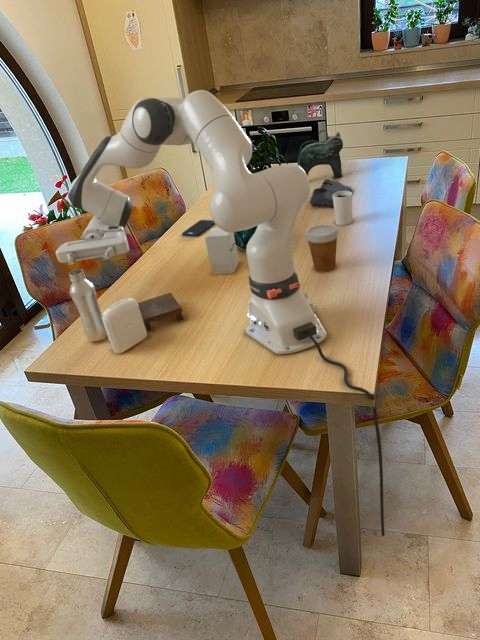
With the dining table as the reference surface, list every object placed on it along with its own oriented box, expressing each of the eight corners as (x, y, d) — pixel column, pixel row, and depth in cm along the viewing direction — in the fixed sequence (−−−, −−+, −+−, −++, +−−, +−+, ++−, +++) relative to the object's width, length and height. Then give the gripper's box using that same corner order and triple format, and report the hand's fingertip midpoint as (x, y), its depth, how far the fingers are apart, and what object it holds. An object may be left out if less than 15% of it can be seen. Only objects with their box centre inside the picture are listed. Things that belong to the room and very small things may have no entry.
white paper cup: (333, 226, 197) (331, 198, 191) (335, 219, 202) (333, 191, 197) (353, 224, 195) (351, 196, 190) (353, 217, 201) (352, 190, 195)
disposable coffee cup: (346, 262, 171) (343, 225, 164) (331, 276, 165) (328, 238, 158) (318, 259, 176) (315, 222, 169) (303, 272, 170) (299, 235, 163)
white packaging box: (234, 273, 176) (227, 235, 169) (211, 274, 178) (203, 237, 171) (239, 263, 182) (233, 226, 175) (217, 264, 184) (210, 227, 177)
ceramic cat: (343, 173, 245) (340, 125, 234) (346, 177, 240) (343, 128, 229) (298, 180, 245) (293, 133, 235) (300, 185, 240) (295, 136, 229)
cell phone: (181, 235, 210) (181, 233, 209) (201, 221, 220) (200, 219, 219) (197, 236, 207) (197, 234, 206) (217, 222, 216) (216, 220, 216)
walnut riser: (184, 320, 156) (181, 307, 153) (146, 332, 153) (142, 320, 151) (173, 304, 164) (170, 292, 162) (137, 316, 161) (133, 303, 159)
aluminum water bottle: (116, 334, 154) (94, 267, 144) (98, 346, 150) (73, 279, 139) (100, 329, 158) (78, 264, 147) (82, 341, 153) (57, 275, 143)
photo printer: (119, 355, 145) (105, 314, 138) (110, 351, 147) (95, 310, 140) (150, 336, 151) (138, 295, 144) (140, 332, 153) (128, 292, 146)
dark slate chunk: (304, 209, 215) (302, 197, 212) (315, 190, 232) (314, 178, 229) (344, 208, 210) (343, 195, 207) (352, 188, 227) (352, 176, 224)
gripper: (59, 236, 165) (46, 255, 153) (127, 225, 164) (120, 243, 152) (66, 255, 168) (54, 275, 156) (133, 245, 167) (126, 264, 156)
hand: (87, 259), depth 154 cm, fingers open, 8 cm apart
